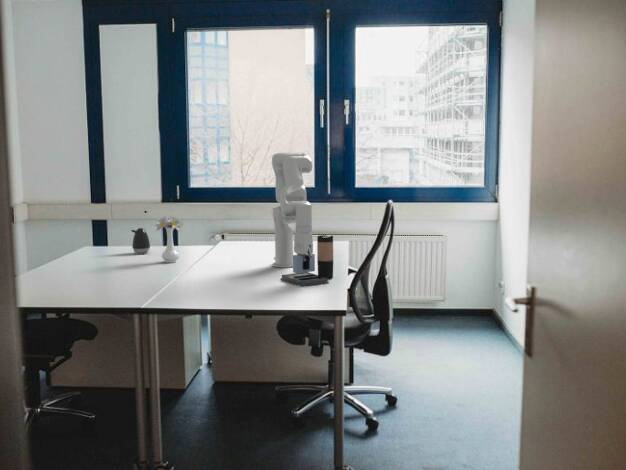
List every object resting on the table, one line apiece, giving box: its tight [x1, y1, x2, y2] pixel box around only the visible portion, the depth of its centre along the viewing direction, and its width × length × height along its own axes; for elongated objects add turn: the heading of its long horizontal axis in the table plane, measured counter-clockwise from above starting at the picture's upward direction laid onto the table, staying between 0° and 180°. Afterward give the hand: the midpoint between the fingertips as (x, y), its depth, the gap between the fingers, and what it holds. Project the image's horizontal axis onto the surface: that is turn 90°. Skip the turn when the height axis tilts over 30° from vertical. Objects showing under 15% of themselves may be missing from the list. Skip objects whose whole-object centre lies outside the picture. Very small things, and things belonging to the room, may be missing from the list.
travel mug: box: [316, 234, 334, 280], centre depth 326 cm, size 8×8×20 cm
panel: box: [292, 253, 316, 274], centre depth 318 cm, size 3×10×8 cm, turn 122°
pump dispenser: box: [130, 227, 151, 255], centre depth 403 cm, size 10×10×15 cm
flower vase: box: [155, 216, 183, 264], centre depth 374 cm, size 13×18×25 cm
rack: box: [280, 272, 330, 288], centre depth 319 cm, size 20×14×3 cm
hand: (304, 268), depth 318 cm, fingers closed on panel, 3 cm apart
